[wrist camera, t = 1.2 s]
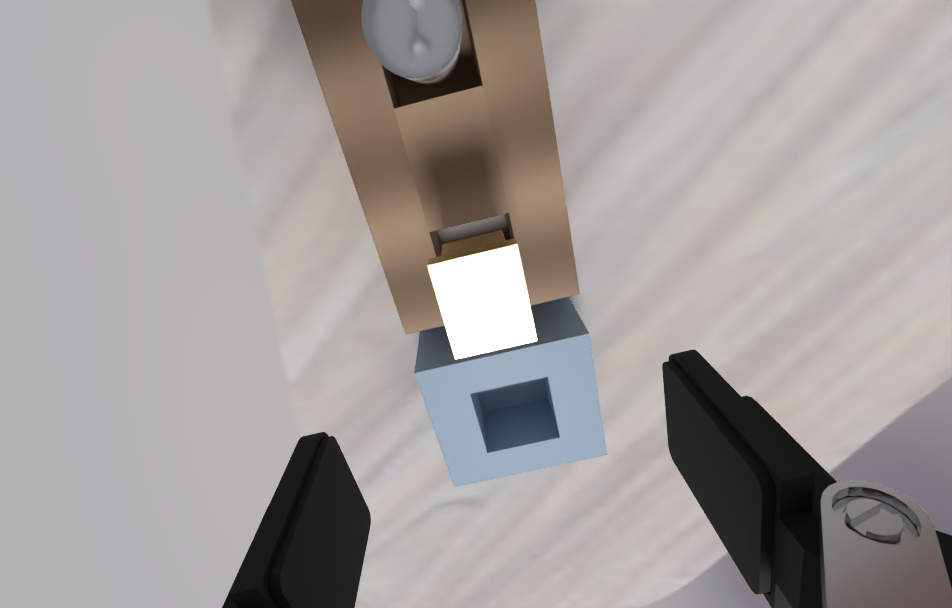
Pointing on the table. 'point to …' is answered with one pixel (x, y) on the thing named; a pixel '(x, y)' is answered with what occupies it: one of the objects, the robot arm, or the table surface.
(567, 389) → the blue square hole block
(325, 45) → the socket block
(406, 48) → the steel peg
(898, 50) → the table surface
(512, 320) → the key
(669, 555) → the table surface
